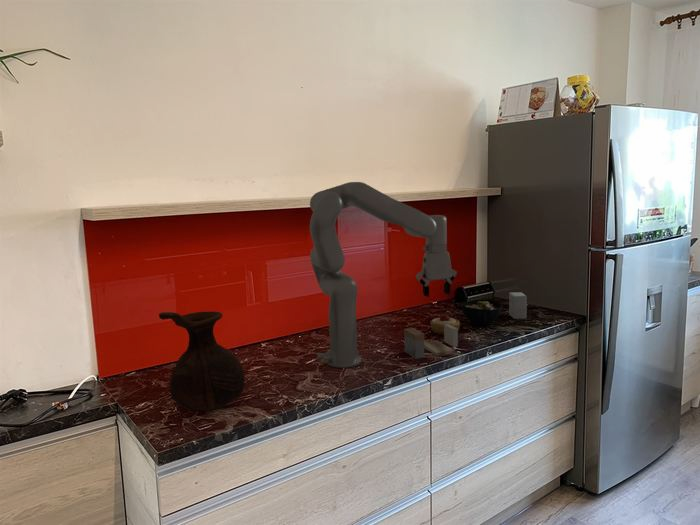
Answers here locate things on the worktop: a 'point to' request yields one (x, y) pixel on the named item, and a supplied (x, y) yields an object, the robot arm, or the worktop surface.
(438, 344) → the board
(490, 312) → the bowl
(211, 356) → the jug
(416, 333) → the brown rectangular block
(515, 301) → the small box
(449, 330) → the tile
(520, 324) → the worktop surface
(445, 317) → the pastry
